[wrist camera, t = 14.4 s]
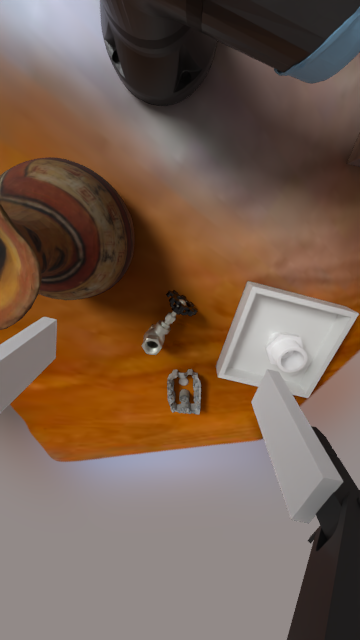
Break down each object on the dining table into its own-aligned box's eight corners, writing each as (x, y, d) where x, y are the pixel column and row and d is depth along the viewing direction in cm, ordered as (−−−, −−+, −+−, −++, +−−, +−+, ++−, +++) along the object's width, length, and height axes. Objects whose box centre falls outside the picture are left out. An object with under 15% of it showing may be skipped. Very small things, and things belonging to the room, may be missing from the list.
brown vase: (128, 299, 46) (36, 411, 19) (27, 267, 45) (-236, 339, 17) (153, 193, 39) (63, 122, 11) (34, 150, 37) (-418, -56, 10)
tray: (247, 280, 44) (252, 286, 40) (345, 306, 45) (359, 313, 41) (215, 366, 52) (217, 377, 48) (300, 386, 53) (308, 398, 49)
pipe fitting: (300, 335, 47) (321, 356, 39) (274, 359, 49) (288, 382, 42) (278, 317, 46) (295, 335, 38) (252, 342, 48) (264, 363, 41)
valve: (163, 346, 50) (197, 305, 46) (160, 363, 44) (198, 317, 40) (138, 330, 49) (170, 285, 45) (130, 345, 43) (167, 295, 39)
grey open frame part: (167, 367, 53) (166, 378, 49) (200, 367, 52) (201, 379, 48) (169, 403, 57) (167, 416, 53) (199, 404, 56) (200, 417, 53)
